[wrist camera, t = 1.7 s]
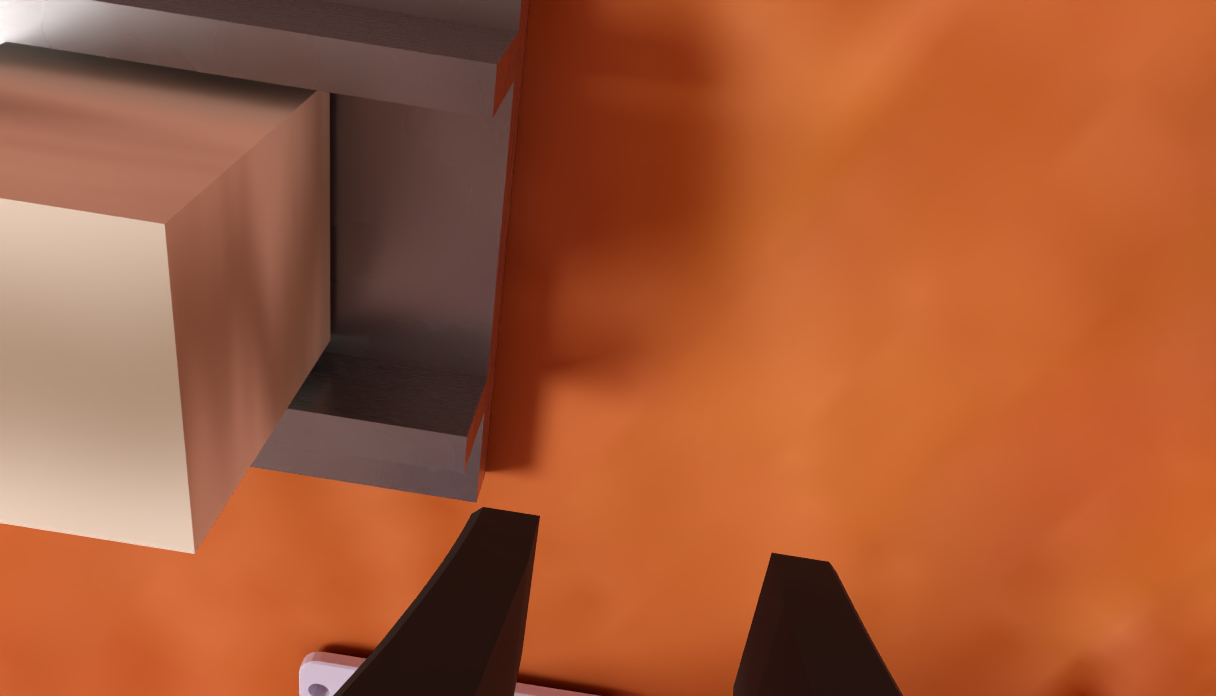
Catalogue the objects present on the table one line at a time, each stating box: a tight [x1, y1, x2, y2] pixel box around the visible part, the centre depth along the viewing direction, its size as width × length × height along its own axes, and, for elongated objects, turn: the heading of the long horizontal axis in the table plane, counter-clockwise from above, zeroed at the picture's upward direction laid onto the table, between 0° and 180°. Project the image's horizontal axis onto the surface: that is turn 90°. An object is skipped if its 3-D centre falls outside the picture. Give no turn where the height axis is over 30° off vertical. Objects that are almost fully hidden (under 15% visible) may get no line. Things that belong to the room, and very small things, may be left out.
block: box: [0, 42, 330, 554], centre depth 16 cm, size 5×5×6 cm
